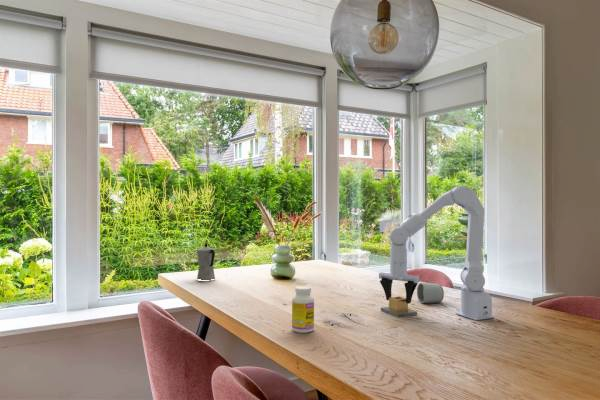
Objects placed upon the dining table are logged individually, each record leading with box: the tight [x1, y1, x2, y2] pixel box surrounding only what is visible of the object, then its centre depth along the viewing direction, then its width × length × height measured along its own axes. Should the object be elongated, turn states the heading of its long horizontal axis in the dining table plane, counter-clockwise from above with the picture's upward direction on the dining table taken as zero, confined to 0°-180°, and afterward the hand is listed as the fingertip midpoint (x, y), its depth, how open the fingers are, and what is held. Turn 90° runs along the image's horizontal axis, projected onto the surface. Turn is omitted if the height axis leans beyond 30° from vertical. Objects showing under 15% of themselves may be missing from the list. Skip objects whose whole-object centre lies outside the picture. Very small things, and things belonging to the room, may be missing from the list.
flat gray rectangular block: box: [380, 306, 418, 318], centre depth 156 cm, size 10×8×4 cm
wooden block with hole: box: [388, 296, 409, 312], centre depth 156 cm, size 5×5×4 cm
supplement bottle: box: [291, 285, 315, 334], centre depth 135 cm, size 7×7×13 cm
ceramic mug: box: [416, 282, 445, 304], centre depth 173 cm, size 11×8×8 cm
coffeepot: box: [196, 243, 216, 280], centre depth 219 cm, size 15×9×18 cm, turn 37°
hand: (398, 301), depth 156 cm, fingers open, 7 cm apart
